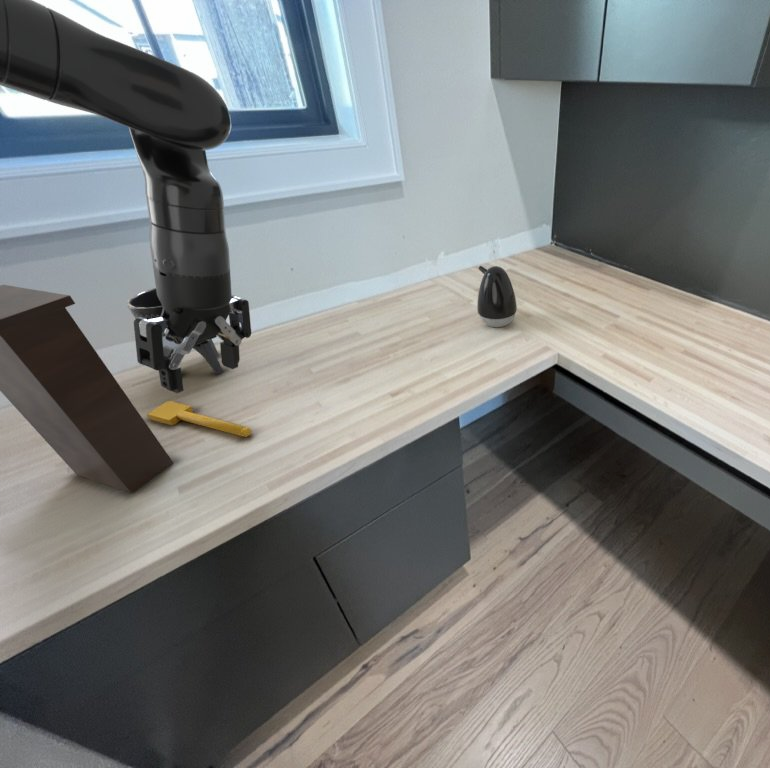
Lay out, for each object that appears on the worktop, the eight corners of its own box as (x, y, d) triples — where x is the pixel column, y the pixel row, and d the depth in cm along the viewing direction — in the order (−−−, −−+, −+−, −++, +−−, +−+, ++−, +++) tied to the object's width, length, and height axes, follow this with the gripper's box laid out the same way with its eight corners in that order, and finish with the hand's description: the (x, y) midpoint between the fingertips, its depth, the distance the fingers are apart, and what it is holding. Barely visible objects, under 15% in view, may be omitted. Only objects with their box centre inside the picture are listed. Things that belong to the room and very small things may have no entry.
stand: (68, 479, 68) (-89, 311, 51) (124, 442, 75) (3, 284, 58) (127, 499, 65) (-20, 326, 47) (181, 459, 72) (70, 295, 54)
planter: (171, 391, 88) (124, 314, 78) (169, 364, 97) (127, 293, 87) (239, 370, 94) (204, 297, 84) (232, 347, 103) (199, 278, 93)
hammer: (150, 419, 81) (145, 412, 80) (172, 406, 84) (167, 398, 83) (241, 444, 74) (237, 437, 73) (260, 428, 78) (256, 421, 77)
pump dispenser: (495, 310, 117) (492, 256, 108) (524, 320, 111) (524, 264, 102) (469, 324, 110) (464, 268, 101) (500, 335, 105) (497, 277, 96)
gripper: (217, 247, 57) (225, 352, 65) (101, 261, 45) (126, 389, 52) (264, 264, 56) (266, 368, 64) (159, 283, 44) (177, 410, 51)
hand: (203, 377), depth 58 cm, fingers open, 8 cm apart
